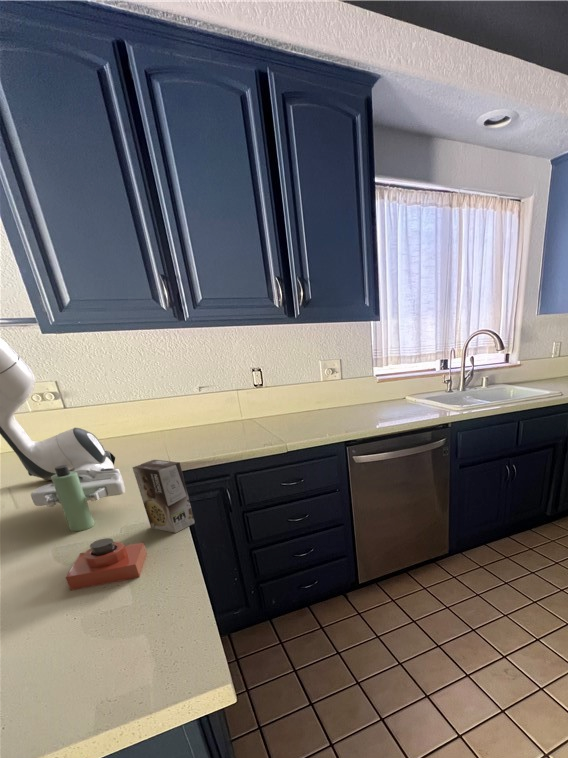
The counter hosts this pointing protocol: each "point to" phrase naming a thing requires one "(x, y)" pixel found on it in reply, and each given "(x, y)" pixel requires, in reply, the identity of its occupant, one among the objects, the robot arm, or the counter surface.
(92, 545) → the grey button cap
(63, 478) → the refill bottle
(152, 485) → the coffee box
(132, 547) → the reddish-brown angled base
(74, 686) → the counter surface
